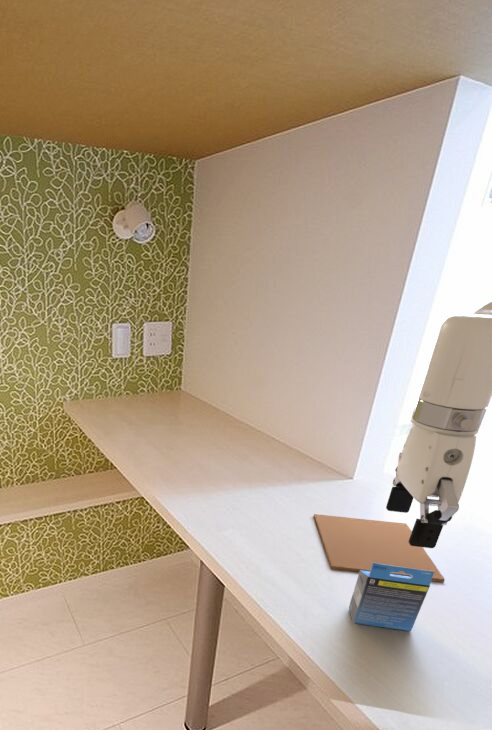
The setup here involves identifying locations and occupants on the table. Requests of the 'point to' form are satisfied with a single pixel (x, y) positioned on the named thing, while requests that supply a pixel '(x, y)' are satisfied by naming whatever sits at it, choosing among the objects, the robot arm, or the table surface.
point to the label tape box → (389, 596)
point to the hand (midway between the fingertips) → (408, 527)
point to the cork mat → (371, 545)
